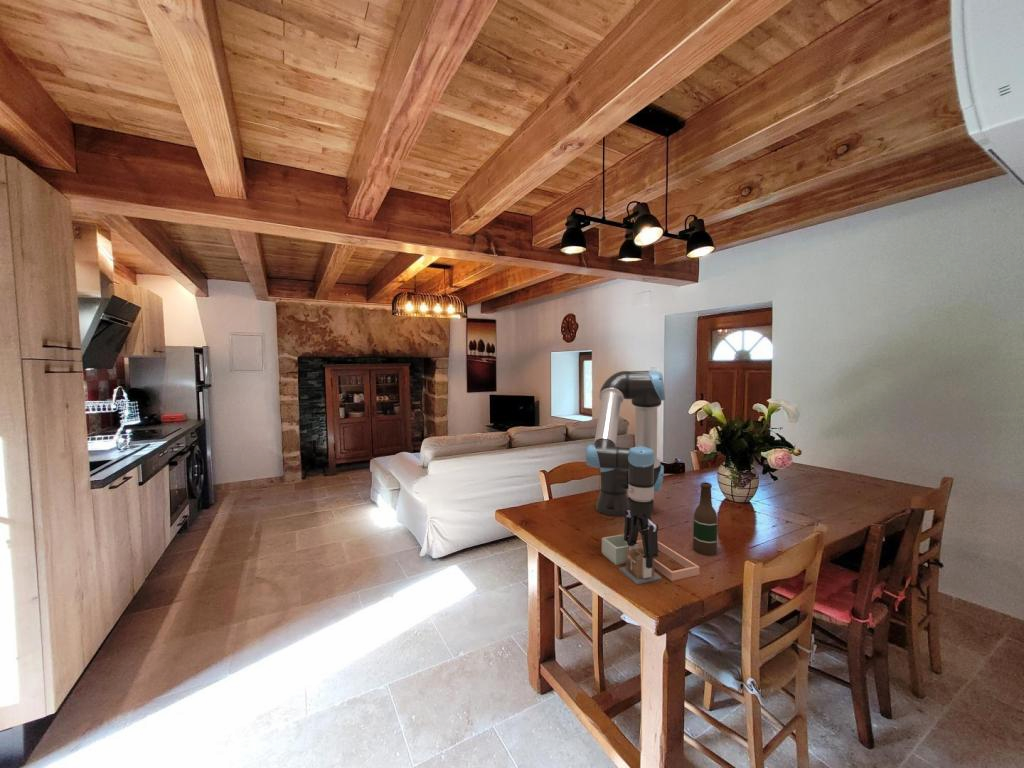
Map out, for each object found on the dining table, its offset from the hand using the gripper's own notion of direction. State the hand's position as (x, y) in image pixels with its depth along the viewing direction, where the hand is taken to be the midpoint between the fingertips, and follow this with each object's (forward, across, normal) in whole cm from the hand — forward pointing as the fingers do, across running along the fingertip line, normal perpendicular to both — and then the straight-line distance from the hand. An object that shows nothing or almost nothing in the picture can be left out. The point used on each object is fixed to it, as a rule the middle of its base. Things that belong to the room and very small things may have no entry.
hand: (639, 571), depth 119 cm
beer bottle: (+1, -6, +32) cm, 32 cm away
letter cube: (0, 0, 0) cm, 0 cm away
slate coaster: (+1, 0, 0) cm, 1 cm away
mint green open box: (+1, -12, +1) cm, 12 cm away
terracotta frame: (+1, -4, +12) cm, 13 cm away
